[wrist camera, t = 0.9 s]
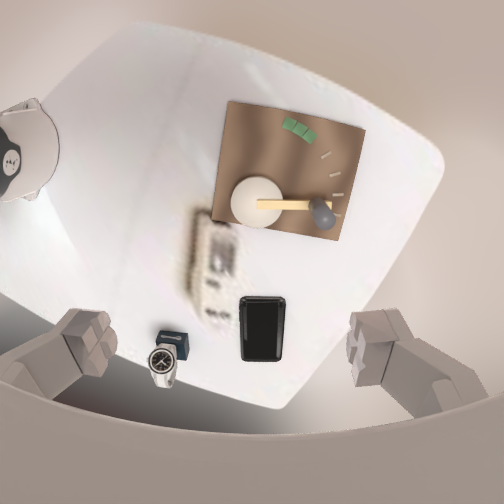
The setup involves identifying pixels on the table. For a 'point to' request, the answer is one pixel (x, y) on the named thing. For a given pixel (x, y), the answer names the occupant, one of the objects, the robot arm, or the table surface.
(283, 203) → the dial knob with pointer
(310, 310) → the table surface
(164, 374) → the watch
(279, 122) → the gauge panel
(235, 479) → the robot arm
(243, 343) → the phone
